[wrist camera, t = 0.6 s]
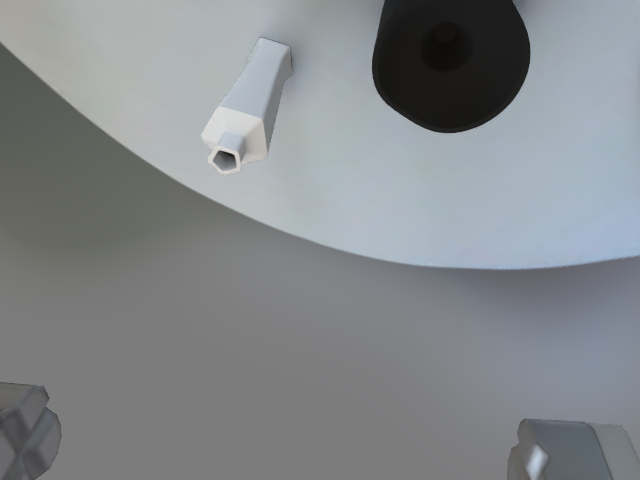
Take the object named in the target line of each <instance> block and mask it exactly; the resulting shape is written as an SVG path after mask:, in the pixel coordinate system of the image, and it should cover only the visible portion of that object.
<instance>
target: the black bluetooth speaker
mask: <svg viewBox="0 0 640 480" xmlns="http://www.w3.org/2000/svg"><path fill="white" fill-rule="evenodd" d="M529 64H530V42H529V37H528V33H527V30H526V27H525V25H524V22H523V20H522V18H521V16H520V14H519V13H518V11H517V9H516V7H515V5H514V3H513V2H512V0H385V3H384V7H383V10H382V15H381V19H380V24H379V29H378V33H377V38H376V43H375V47H374V53H373V58H372V73H373V80H374V84H375V87H376V89H377V91H378V94H379V95H380V96H381V98H382V99H383V100H384V101H385V102H386V103H387V104H388V105H389V106H390V107H391V108H393V109H394V110H395V111H397V112H398V113H400V114H401V115H403V116H404V117H406V118H407V119H409V120H410V121H412V122H414V123H415V124H417V125H419V126H421V127H423V128H425V129H428V130H431V131H434V132H440V133H457V132H463V131H466V130H470V129H473V128H475V127H478V126H480V125H482V124H484V123H486V122H488V121H490V120H491V119H493V118H494V117H496V116H497V115H498V114H500V113H501V112H502V111H503V110H504V109H505V108H506V107H507V106H508V105H509V104H510V103H511V102H512V101H513V99H514V98H515V96H516V95H517V94H518V92H519V91H520V89H521V87H522V85H523V83H524V81H525V78H526V75H527V72H528V68H529Z"/></svg>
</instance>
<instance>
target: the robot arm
mask: <svg viewBox="0 0 640 480" xmlns="http://www.w3.org/2000/svg"><path fill="white" fill-rule="evenodd" d="M48 401H49V396H48V394H47V392H46V390H45V388H44V386H37V385H27V384H26V385H25V384H16V383H5V382H0V480H35V479H36V478H38V477H39V476H41V475H42V474H43V473H45V472H46V471H47V470H49V469H50V467H51V465H52V463H53V461H54V459H55V457H56V455H57V453H58V449H59V445H60V440H61V424H60V422H59V419H58V416H57V415H56V414H55V413H54V412H52V411H51V410H50V409H48V408H47V407H46V404H47V402H48ZM517 434H518V439H519V444H518V445H517V446H515V447H513V448H512V449H511V452H510V456H509V459H508V470H507V480H640V461H639V458H638V456H637V454H636V451H635V449H634V447H633V445H632V442H631V440H630V437H629V435H628V433H627V431H626V430H625V429H624V428H623V427H622V426H620V425H614V424H597V423H596V424H595V423H585V422H579V421H560V420H541V419H523V420H522V421H521V422H520V425H519V428H518V430H517Z"/></svg>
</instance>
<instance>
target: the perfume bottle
mask: <svg viewBox="0 0 640 480" xmlns="http://www.w3.org/2000/svg"><path fill="white" fill-rule="evenodd" d="M291 75H292V66H291V55H290V48H289V46H287V45H284V44H280V43H277V42H274V41H271V40H268V39H265V38H259V40H258V41H257V43H256V45H255V46H254V48H253V50H252V51H251V53H250V55H249V56H248V58H247V66H246V68H245V69H244V70H243V72H242V73H241V75H240V76H239V77H238V79H237V80H236V82H235V83H234V85H233V86H232V87H231V89H230V90H229V92H228V93H227V94H226V96H225V97H224V99H223V100H222V101H221V103H220V104H219V106H218V107H217V109H216V110H215V112H214V114H213V115H212V117H211V119H210V120H209V122H208V124H207V125H206V127H205V129H204V131H203V132H202V134H201V139H202V140H203V141H204V142H205V143H206V144H207V145H208V146H209V147H210V148H211V149H212V150H213V151H212V153H211V154H210V156H209V157H208V162H209V163H210V164H211V165H212V166H213V167H214V168H215V169H216V170H217V171H218V172H219V173H220V174H221V175H228V174H232V173H235V172H239V171H241V169H242V166H241V165H242V164H246V163H250V162H254V161H257V160H261V159H265V158H266V157H267V156H268V151H269V147H270V142H271V138H272V133H273V129H274V125H275V120H276V116H277V111H278V107H279V103H280V98H281V94H282V89H283V85H284V81H285V80H286V79H287V78H289V77H290V76H291Z"/></svg>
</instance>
